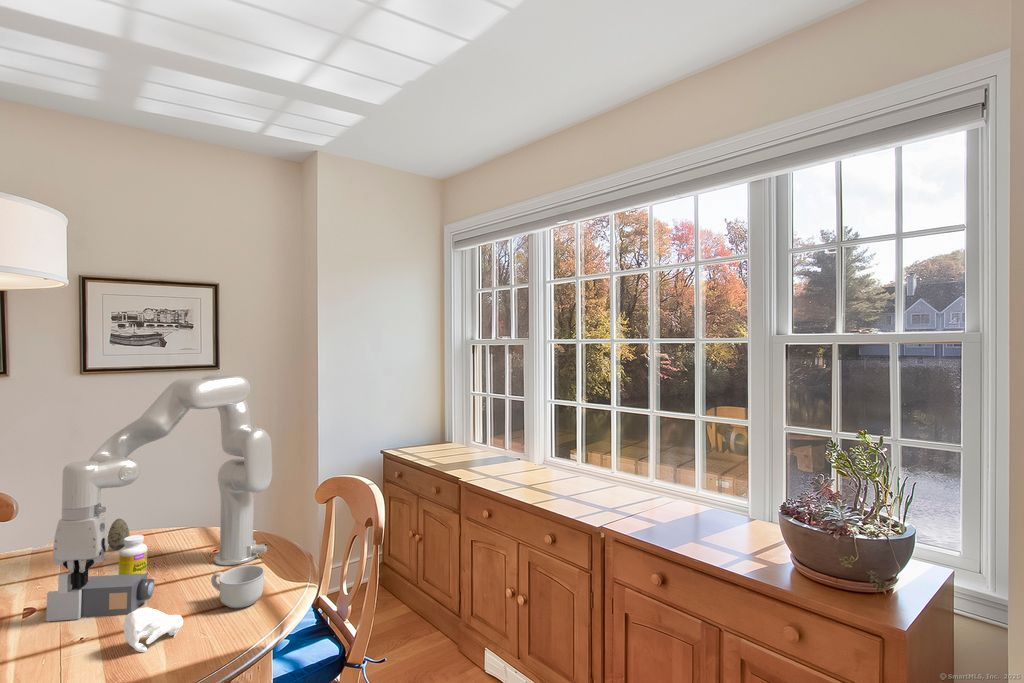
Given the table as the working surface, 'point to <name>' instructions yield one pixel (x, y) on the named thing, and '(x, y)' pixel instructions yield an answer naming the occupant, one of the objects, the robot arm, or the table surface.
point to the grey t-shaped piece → (64, 601)
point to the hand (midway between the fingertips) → (79, 586)
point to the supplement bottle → (133, 556)
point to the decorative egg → (118, 534)
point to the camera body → (114, 594)
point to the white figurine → (149, 626)
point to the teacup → (240, 585)
